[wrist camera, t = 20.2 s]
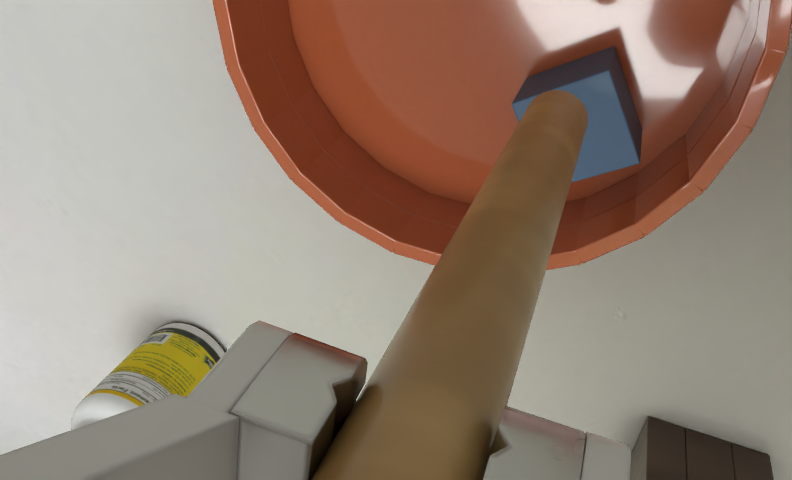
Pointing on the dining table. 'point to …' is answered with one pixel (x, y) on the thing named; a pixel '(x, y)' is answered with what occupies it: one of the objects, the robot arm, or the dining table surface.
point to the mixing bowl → (492, 103)
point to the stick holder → (692, 456)
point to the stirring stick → (467, 318)
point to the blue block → (594, 110)
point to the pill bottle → (152, 373)
